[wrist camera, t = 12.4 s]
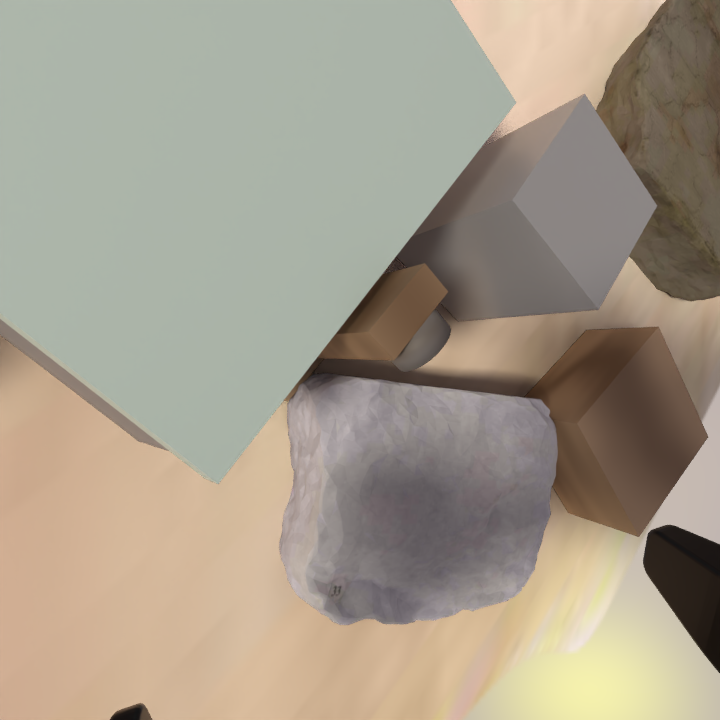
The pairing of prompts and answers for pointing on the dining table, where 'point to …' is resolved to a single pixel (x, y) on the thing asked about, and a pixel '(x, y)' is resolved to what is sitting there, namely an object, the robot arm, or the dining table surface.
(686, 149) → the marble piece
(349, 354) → the trapdoor frame
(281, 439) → the dining table surface
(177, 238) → the trapdoor
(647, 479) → the plinth
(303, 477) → the stone block
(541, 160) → the grey block
